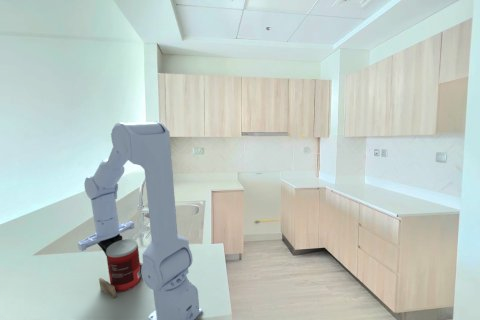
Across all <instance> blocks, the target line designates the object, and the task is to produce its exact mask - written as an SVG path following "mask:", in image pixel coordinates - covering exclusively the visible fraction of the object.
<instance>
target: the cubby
mask: <svg viewBox="0 0 480 320" xmlns="http://www.w3.org/2000/svg"><path fill="white" fill-rule="evenodd" d="M142 264H143V262H140V271H141V268H142ZM98 282H99V287H100V290H101V291H103V292H104V293H106V294H108V295H109V296H110V297H111V298H113V299H116V298H117V293H116V292H117V291H115V287H114V286H113V285H111V284H110V282H108V281H106V280H105V279H103V278H102V277H100V278H99V279H98Z"/></svg>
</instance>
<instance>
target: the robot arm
mask: <svg viewBox="0 0 480 320" xmlns="http://www.w3.org/2000/svg"><path fill="white" fill-rule="evenodd" d="M170 134H171V133H170V130H168V128H167V127H166V126H165V125H164V124H163V123H162V122H160V121H153V122H127V123H126V122H116V123H115V124H114V126H113V128H112V130H111V133H110V135H111V136H110V137H111V142H112V143H111V144H112V149H111V152H110V154H109V156H108V158H106V159H103V160H101V162H100V164H99V166H98V167H97V169H96V171H95V173H94V175H93V176H88V177H85V179H84V190H85V193H86V196H87V197H88V198H89V199H90V202H91V209H92V216H93V221H94V228H95V233H93V234H91V235H90V236H87V237H86V238H84V239H83V240H80V241H78V242H77V246H78V250H80V252H83V251H86V250H87V249H88V248H90V247H92V246H95V245H96V244H97V246H99V248H101V250H102V251H103V253H104V254H105V256H106V257H107V255H106V250H107V248H108V247H109V246H110V245H111V244H113V243H115V242H117V241H120V240H123V235H121V234H122V233H124V232H126V231H128V230H134V229H135V223H134V221H131V220H129V221H127V222H124V223H119V215H118V209H117V199H118V190H119V184H118V182H119V181H120V179H121V178H122V176H123V175H124V173H125V167H124V166H125V164H126V163H127V162H128V161H129V162H130V163H132V164H133V165H138V166H140V167H142V169H143V171H144V176H145V178H144V179H145V187H146V197H147V206H148V207H147V208H148V215H149V216H148V217H149V218H148V219H149V226H150V236H151V237H150V238H151V241H150V243H149V244H148V245H147V247H146V248H145V250H143V251H144V252H143V253H142V268H141V278H142V280H143V282H144V284H145V285H146V287H147V288H149V289H150V290H153V298H154V305H155V310H154V311H152V312H151V313H150V315H148V316H147V318H148V320H196V318H197V317H199V315H201V313H202V312H203V309H202V307H200V303H199V299H200V298H199V290H198V288H197V287H196V285H195V284H193V283H192V282H190V280H189V279H188V277H187V276H188V274H189V268H190V267H191V266H192V264H193V254H192V251H191V249H190V245H189V240H188V239H187V238H186V237H184V236H183V235H180V234H178V227H177V226H178V225H177V224H178V223H177V213H176V199H175V198H176V197H175V186H174V185H175V184H174V173H173V162H172V161H173V160H172V147H171V135H170Z"/></svg>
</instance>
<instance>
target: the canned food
mask: <svg viewBox="0 0 480 320" xmlns="http://www.w3.org/2000/svg"><path fill="white" fill-rule="evenodd" d="M106 255H107V256H106ZM105 256H106V262H107V269H108V276H109V283H110V284H111V285H113V286H114V287H115V292H119V293H120V292H121V293H123V292H127V291H130V290H132V289H134V288H135V287H136V286H137V285H138V284H139V283H140V281H141V278H142V274H141V271H140V263H141V262H140V252H139V246H138V242H137V240H135V239H132V238H129V239H127V238H126V239H122V240H120V241H117V242H115V243H113V244H111V245H110V246H109V247H108V248H107V250H106V254H105Z"/></svg>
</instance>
